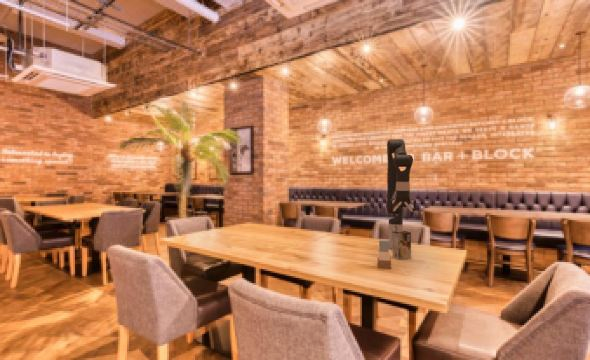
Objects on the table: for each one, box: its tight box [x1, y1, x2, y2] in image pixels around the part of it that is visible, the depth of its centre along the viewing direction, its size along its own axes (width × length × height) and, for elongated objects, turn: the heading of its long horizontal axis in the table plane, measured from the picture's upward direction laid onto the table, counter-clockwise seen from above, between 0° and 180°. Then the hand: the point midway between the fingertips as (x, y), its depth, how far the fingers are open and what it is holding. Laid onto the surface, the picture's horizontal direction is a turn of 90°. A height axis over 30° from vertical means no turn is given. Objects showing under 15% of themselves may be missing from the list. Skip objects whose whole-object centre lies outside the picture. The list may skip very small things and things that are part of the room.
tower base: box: [377, 257, 392, 270], centre depth 163 cm, size 7×7×4 cm
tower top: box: [377, 248, 391, 261], centre depth 163 cm, size 6×6×4 cm
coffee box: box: [391, 230, 412, 261], centre depth 180 cm, size 9×6×16 cm
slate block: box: [378, 238, 390, 252], centre depth 163 cm, size 5×5×6 cm
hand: (402, 217), depth 168 cm, fingers open, 8 cm apart
